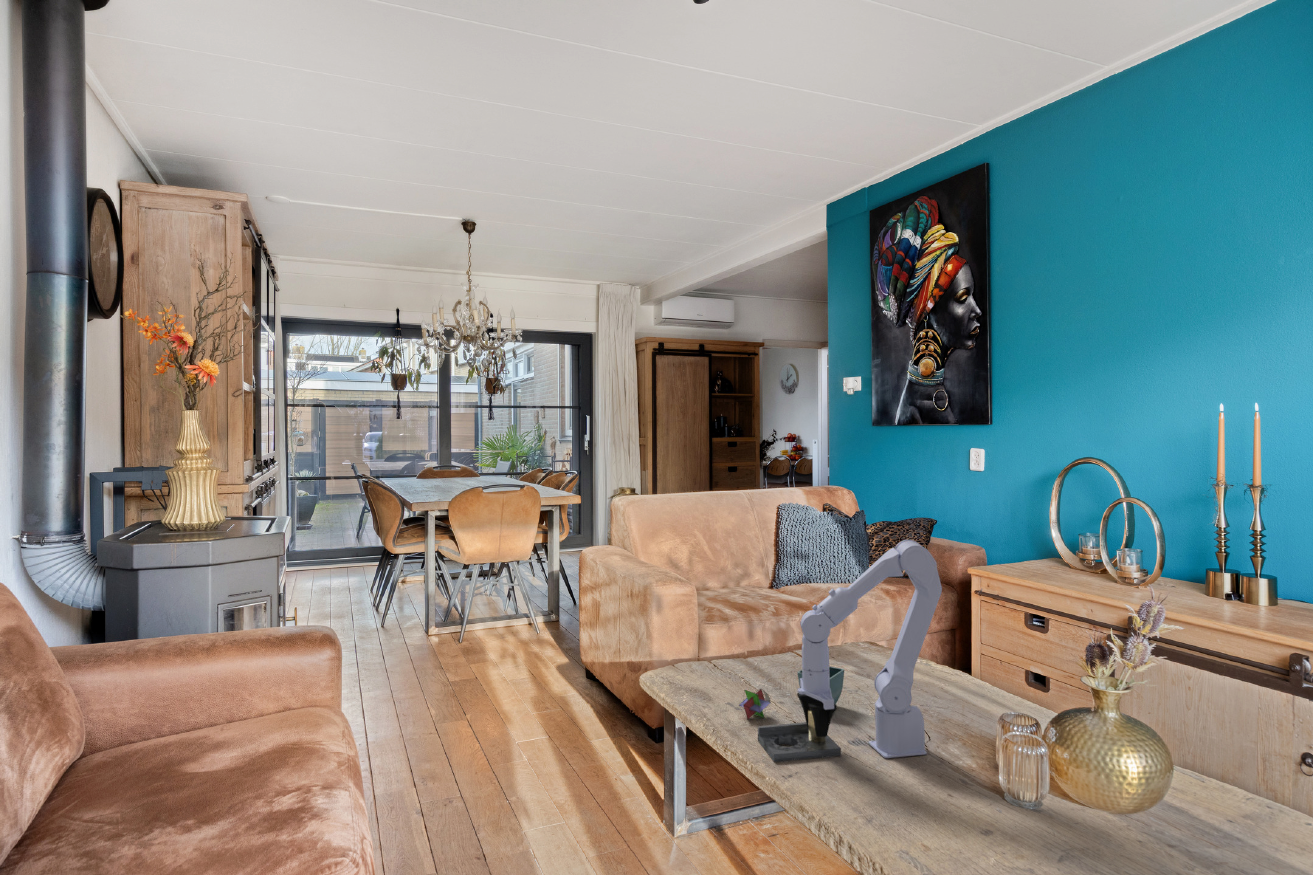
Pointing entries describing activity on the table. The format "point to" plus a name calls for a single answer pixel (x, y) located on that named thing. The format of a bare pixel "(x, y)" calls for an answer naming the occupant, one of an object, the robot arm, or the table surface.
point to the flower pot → (832, 681)
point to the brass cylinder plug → (813, 729)
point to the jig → (794, 743)
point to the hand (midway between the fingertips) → (816, 731)
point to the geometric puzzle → (755, 703)
